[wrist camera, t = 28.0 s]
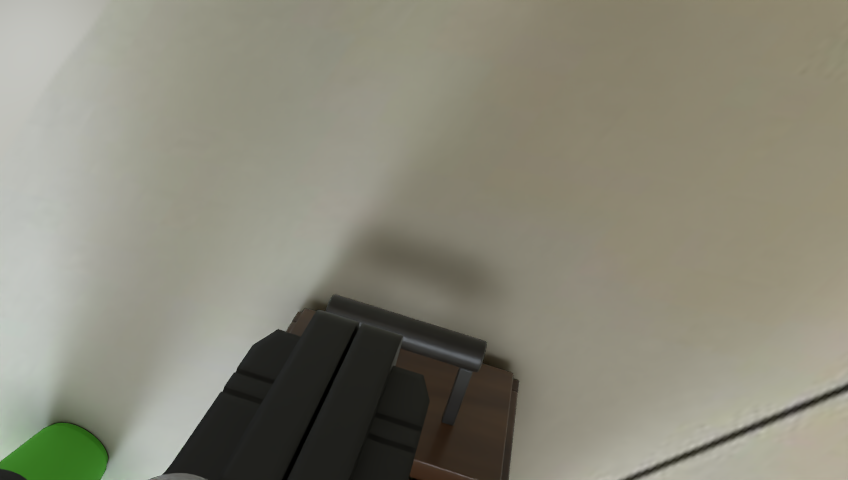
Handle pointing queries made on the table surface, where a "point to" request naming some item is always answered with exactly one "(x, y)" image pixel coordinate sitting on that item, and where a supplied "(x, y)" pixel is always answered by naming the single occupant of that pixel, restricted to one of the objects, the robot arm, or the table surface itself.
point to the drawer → (444, 393)
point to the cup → (59, 455)
